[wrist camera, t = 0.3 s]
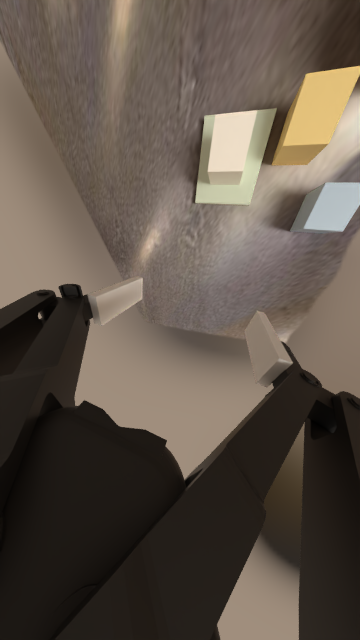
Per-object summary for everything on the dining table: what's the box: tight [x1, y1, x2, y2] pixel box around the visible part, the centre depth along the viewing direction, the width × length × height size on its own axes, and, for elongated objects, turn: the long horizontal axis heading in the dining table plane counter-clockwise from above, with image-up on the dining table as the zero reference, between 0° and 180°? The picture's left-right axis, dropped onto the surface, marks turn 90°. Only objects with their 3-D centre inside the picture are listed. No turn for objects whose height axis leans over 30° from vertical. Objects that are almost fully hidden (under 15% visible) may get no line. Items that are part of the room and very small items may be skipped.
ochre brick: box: [272, 66, 360, 165], centre depth 20 cm, size 6×6×6 cm
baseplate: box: [195, 108, 277, 206], centre depth 23 cm, size 12×12×7 cm
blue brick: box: [290, 183, 360, 234], centre depth 24 cm, size 6×6×6 cm
